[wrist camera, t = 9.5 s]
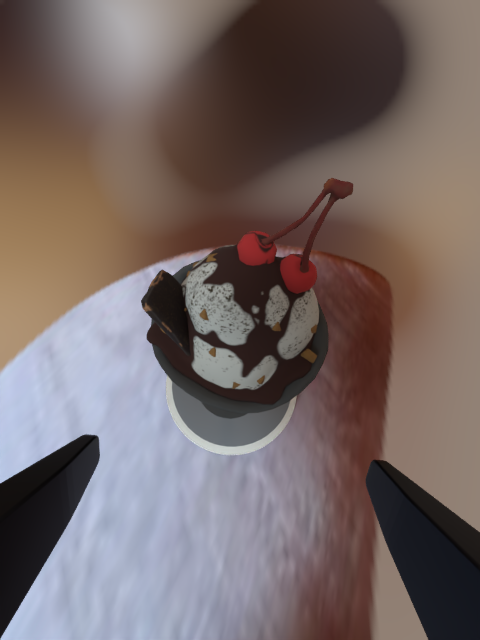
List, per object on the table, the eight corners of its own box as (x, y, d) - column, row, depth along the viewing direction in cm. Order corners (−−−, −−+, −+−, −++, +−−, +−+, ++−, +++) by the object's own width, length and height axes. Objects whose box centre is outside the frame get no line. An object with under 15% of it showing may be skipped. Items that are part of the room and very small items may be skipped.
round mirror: (307, 439, 18) (316, 438, 17) (173, 469, 17) (168, 471, 15) (274, 324, 23) (279, 314, 21) (166, 339, 21) (162, 328, 20)
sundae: (289, 369, 19) (456, 180, 6) (245, 452, 16) (379, 469, 3) (219, 327, 20) (221, 91, 7) (166, 396, 17) (-11, 218, 4)
